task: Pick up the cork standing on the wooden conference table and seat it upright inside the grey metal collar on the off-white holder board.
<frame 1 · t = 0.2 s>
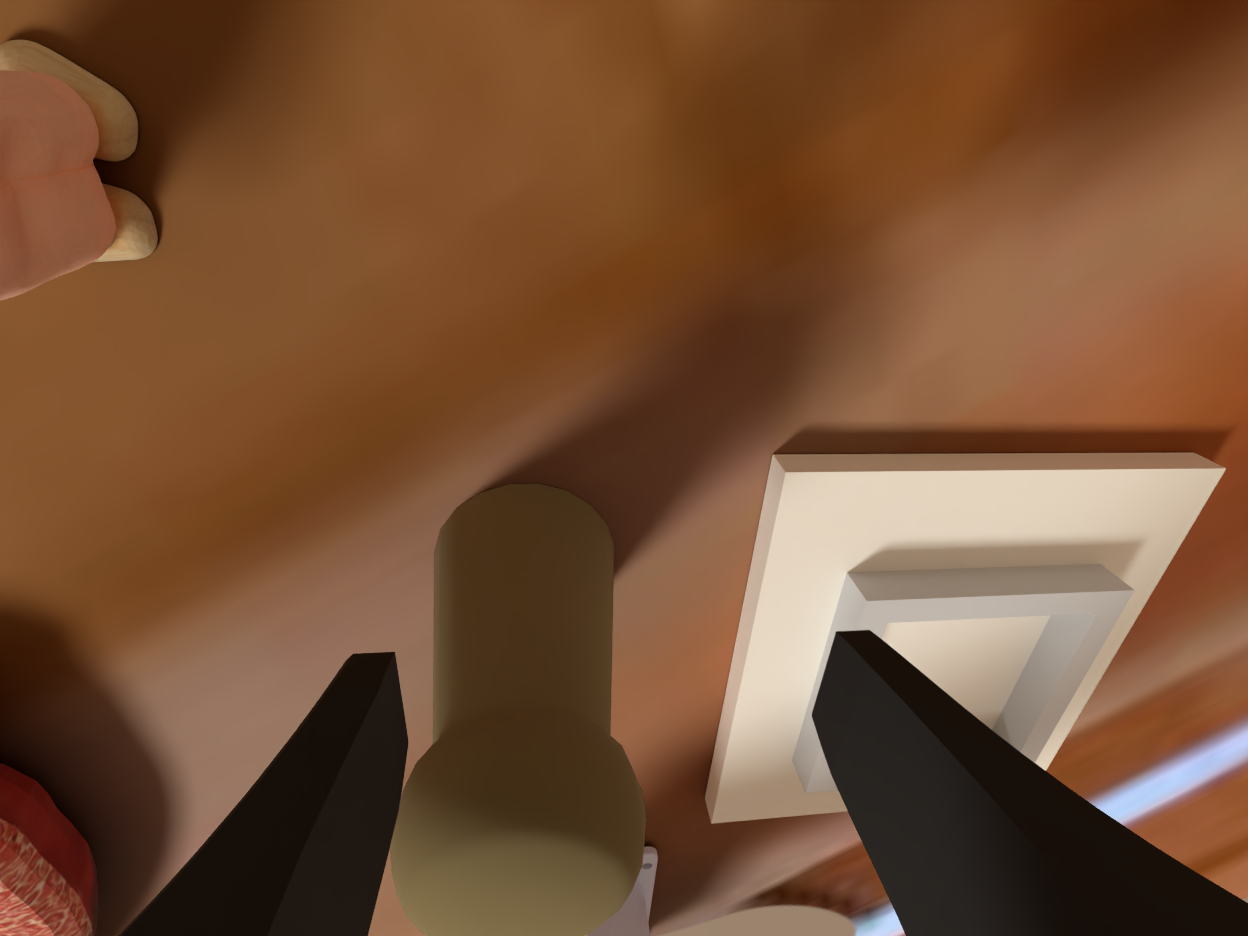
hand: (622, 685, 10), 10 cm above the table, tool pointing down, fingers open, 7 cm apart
cork: (526, 556, 21), on the table
grandmother figurine: (88, 188, 15), on the table
holder board: (919, 646, 26), on the table
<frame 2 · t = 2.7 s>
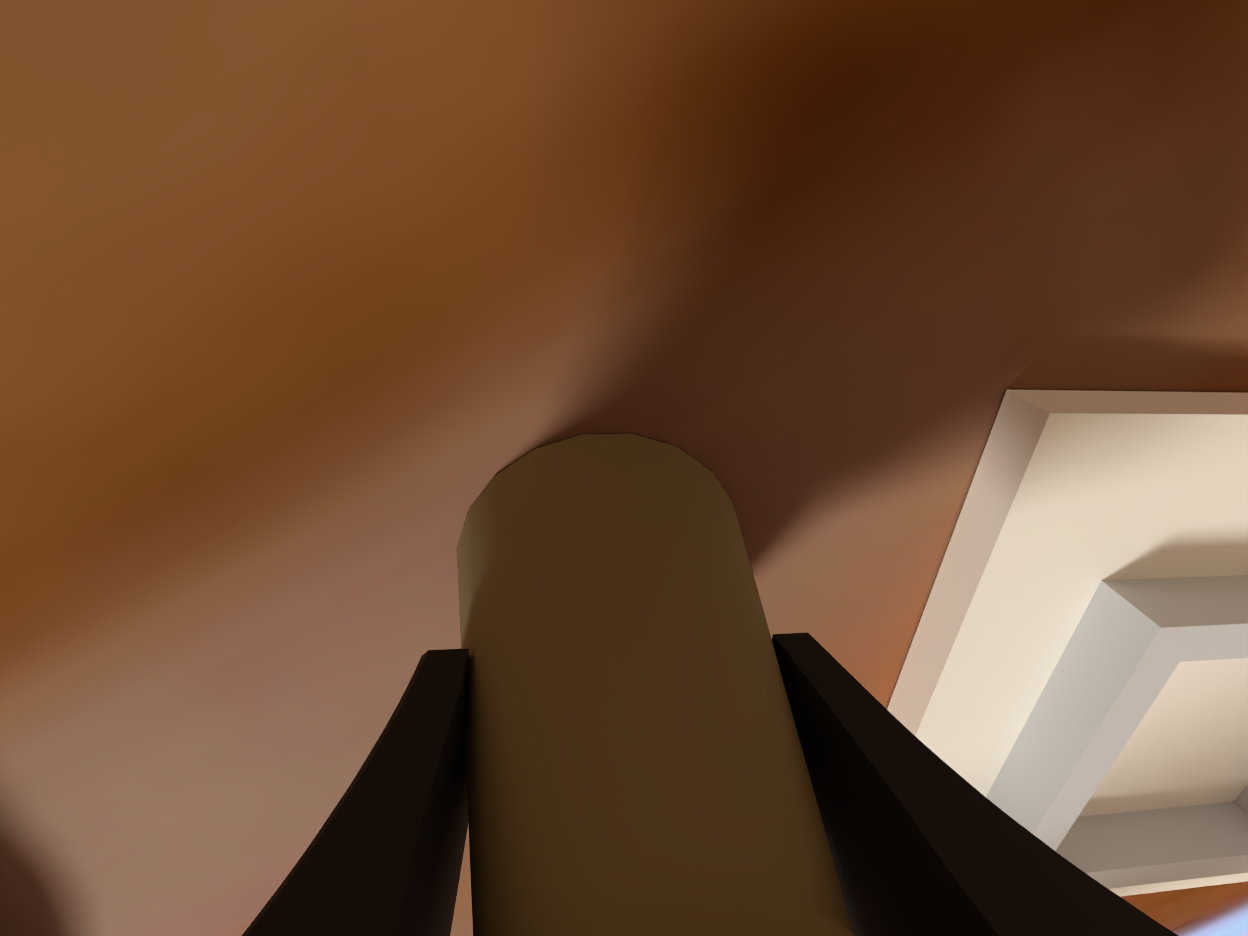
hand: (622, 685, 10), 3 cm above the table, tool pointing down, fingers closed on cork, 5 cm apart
cork: (601, 555, 13), on the table, touching gripper
holder board: (1147, 686, 18), on the table
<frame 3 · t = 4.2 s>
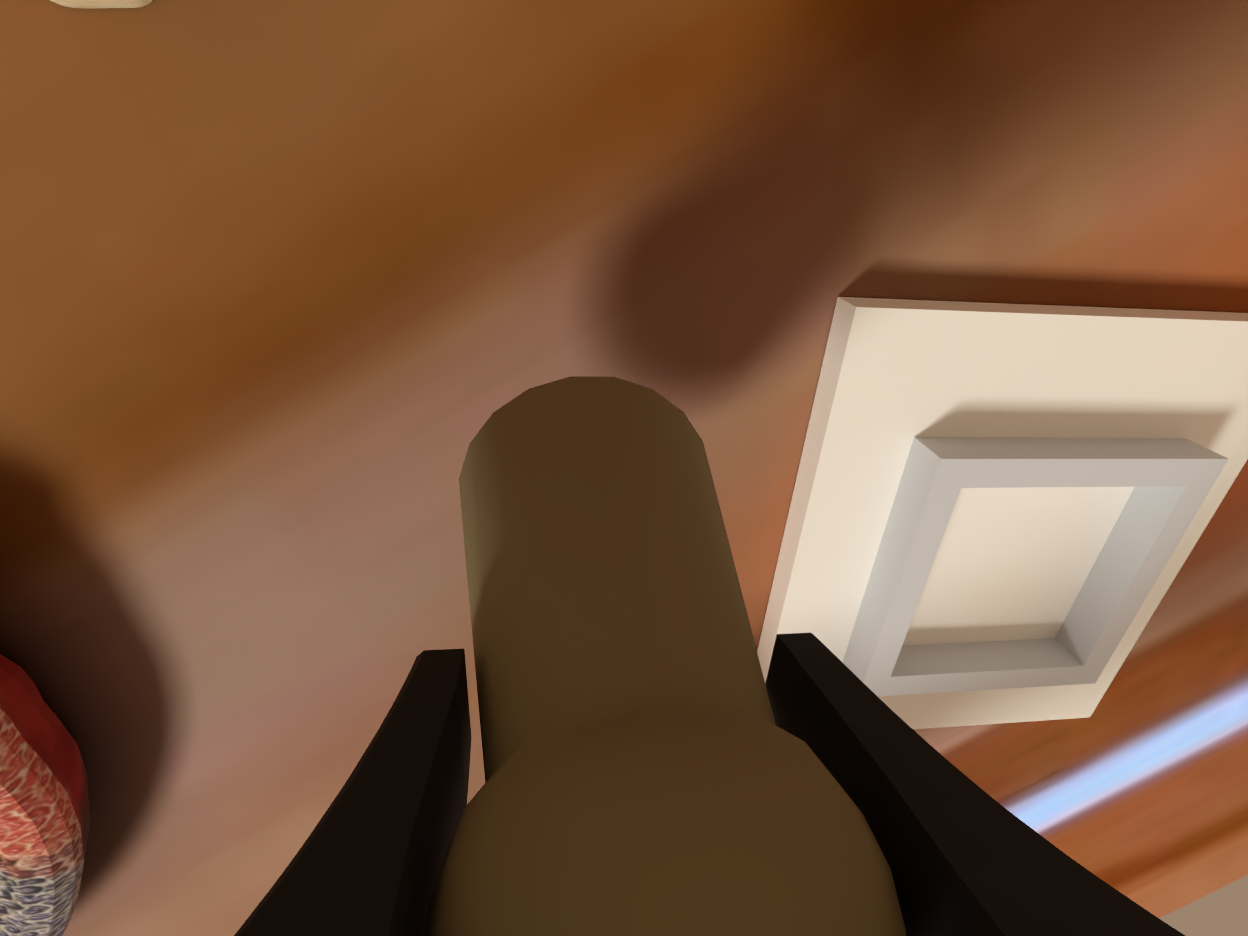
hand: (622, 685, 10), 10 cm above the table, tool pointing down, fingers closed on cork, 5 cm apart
cork: (586, 488, 15), point 5 cm above the table, touching gripper
holder board: (980, 541, 24), on the table
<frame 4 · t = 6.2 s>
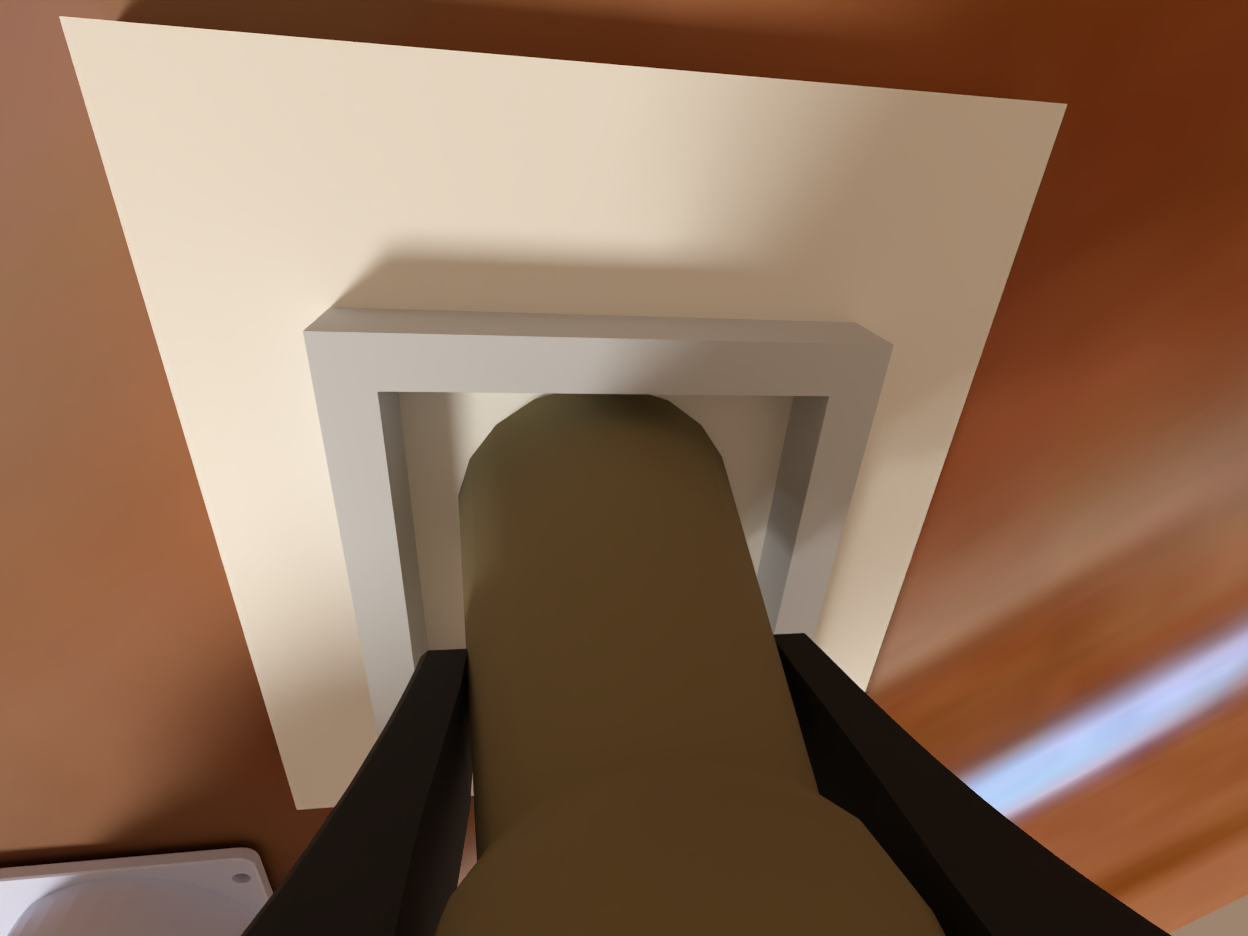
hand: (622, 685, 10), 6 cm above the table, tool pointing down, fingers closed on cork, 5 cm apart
cork: (596, 507, 14), point 1 cm above the table, touching gripper, holder board
holder board: (593, 506, 15), on the table
when the fingers open (6 cm above the table, at t = 6.6 s): cork stays where it is, resting on holder board.
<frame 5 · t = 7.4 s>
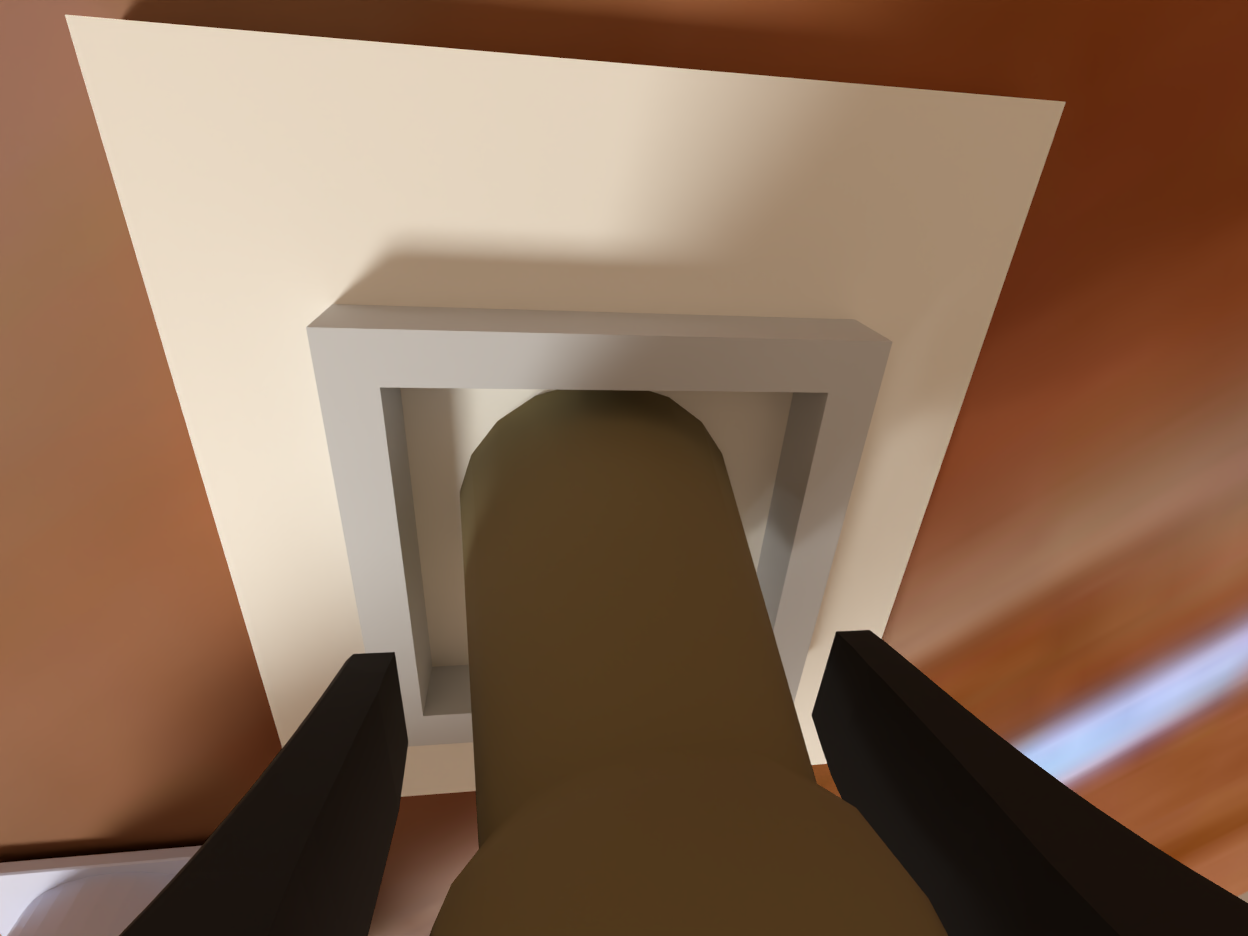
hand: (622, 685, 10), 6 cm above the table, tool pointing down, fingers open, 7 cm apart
cork: (596, 504, 14), point 1 cm above the table, touching holder board
holder board: (593, 502, 15), on the table
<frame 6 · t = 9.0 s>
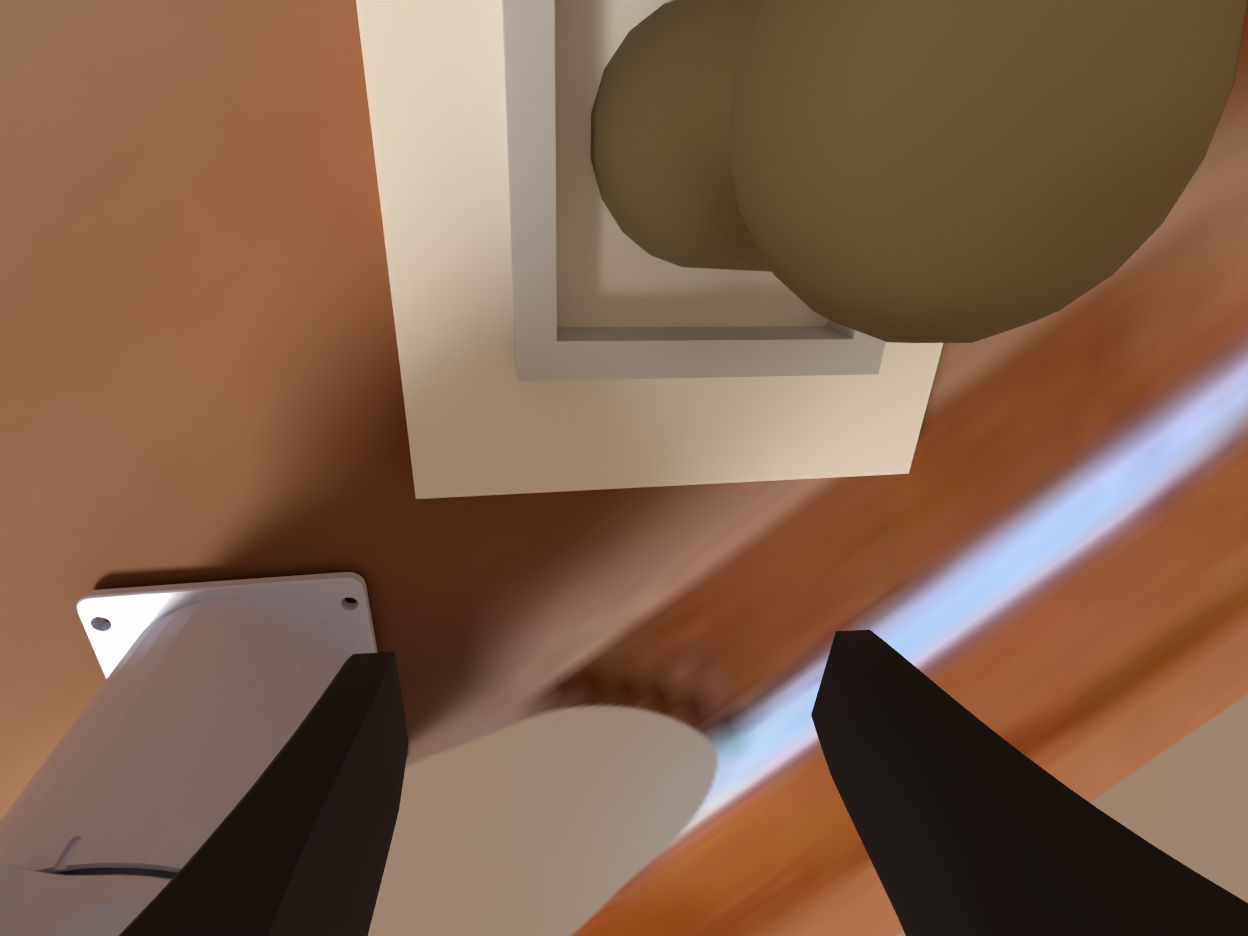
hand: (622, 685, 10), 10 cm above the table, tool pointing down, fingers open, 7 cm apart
cork: (707, 142, 16), point 1 cm above the table, touching holder board
holder board: (695, 168, 17), on the table
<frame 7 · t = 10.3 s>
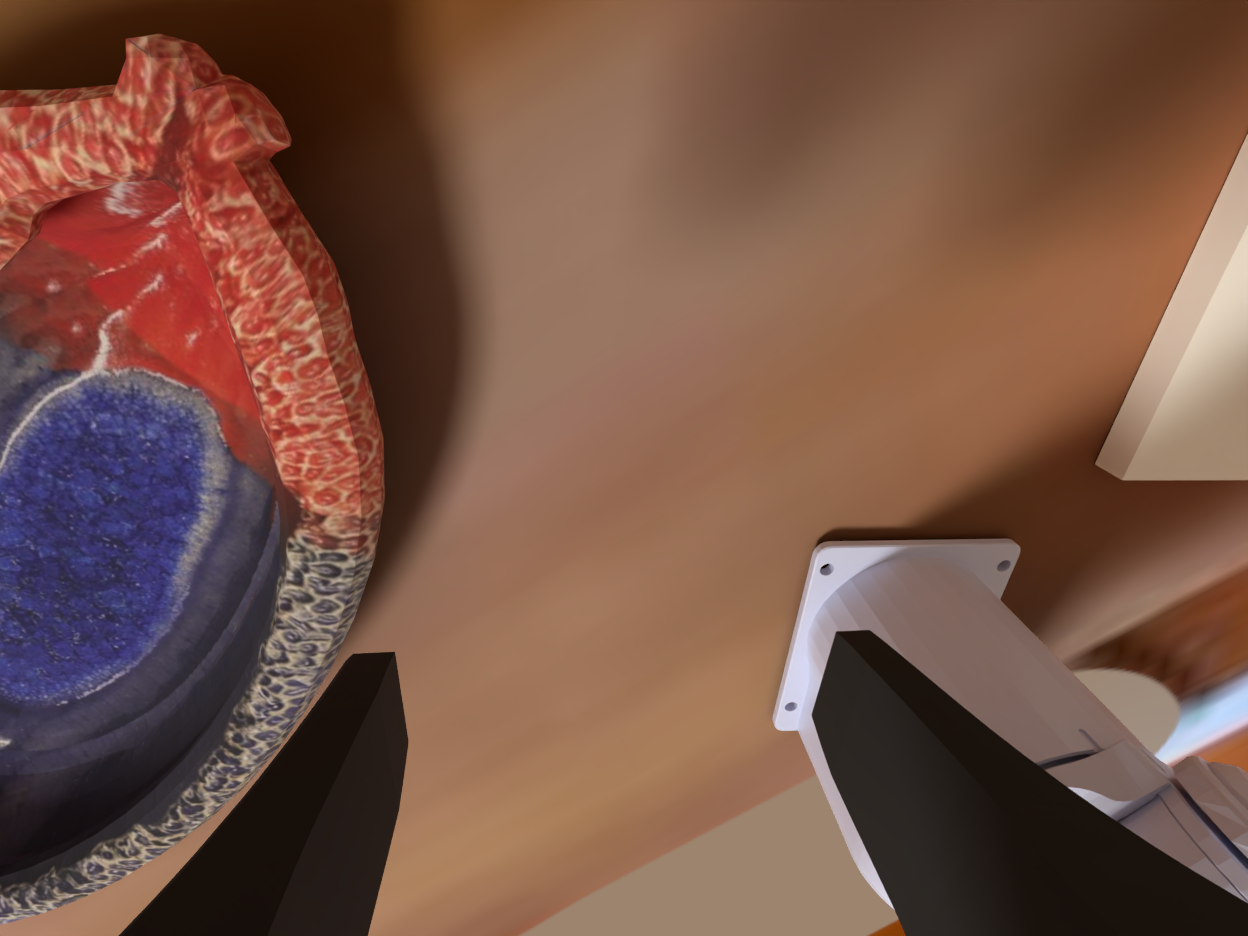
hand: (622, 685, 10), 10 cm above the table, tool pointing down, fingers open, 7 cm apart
dish: (101, 540, 20), on the table
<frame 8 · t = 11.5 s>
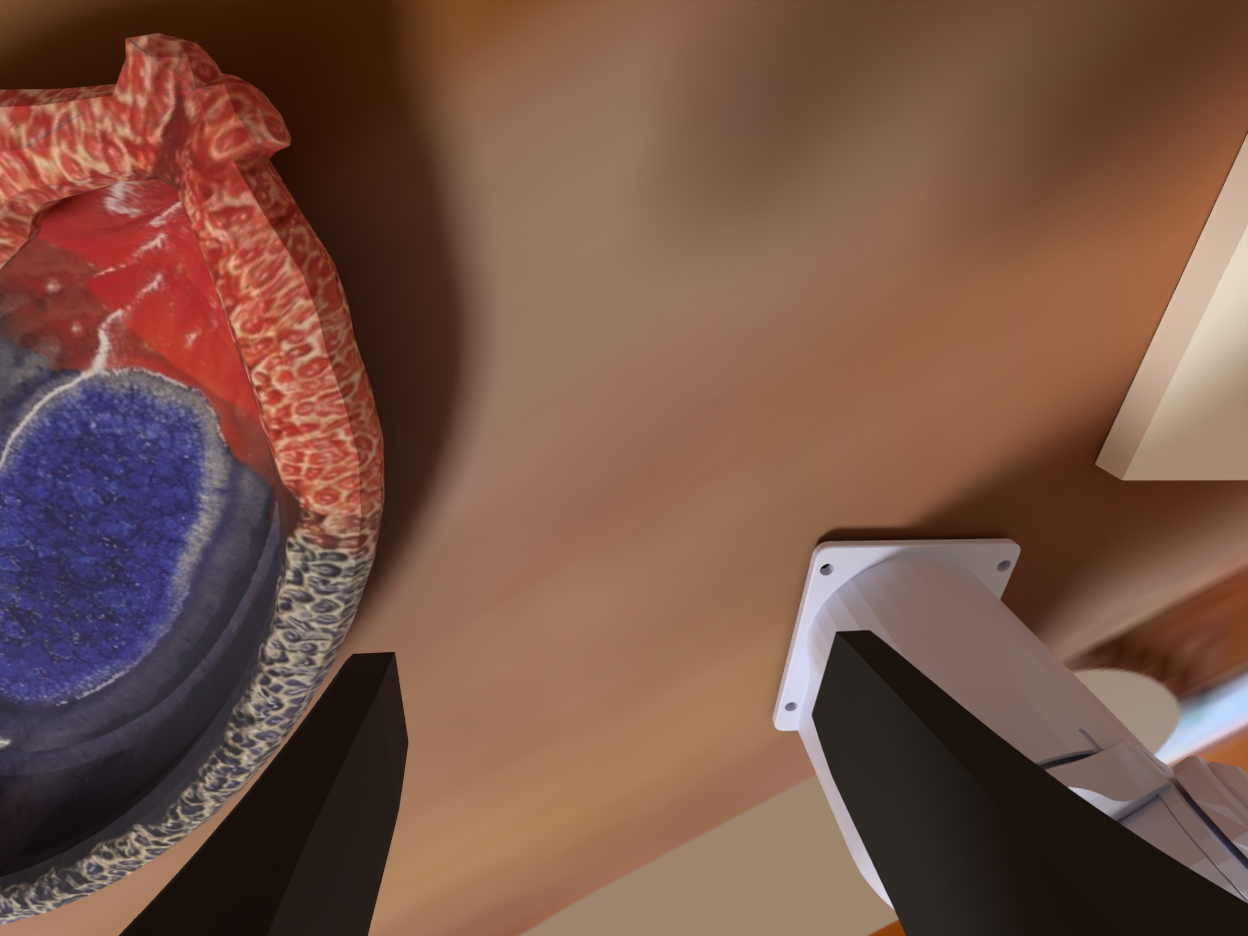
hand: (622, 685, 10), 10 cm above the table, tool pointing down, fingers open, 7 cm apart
dish: (100, 540, 20), on the table
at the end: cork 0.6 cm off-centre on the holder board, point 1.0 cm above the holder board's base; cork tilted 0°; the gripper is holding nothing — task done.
